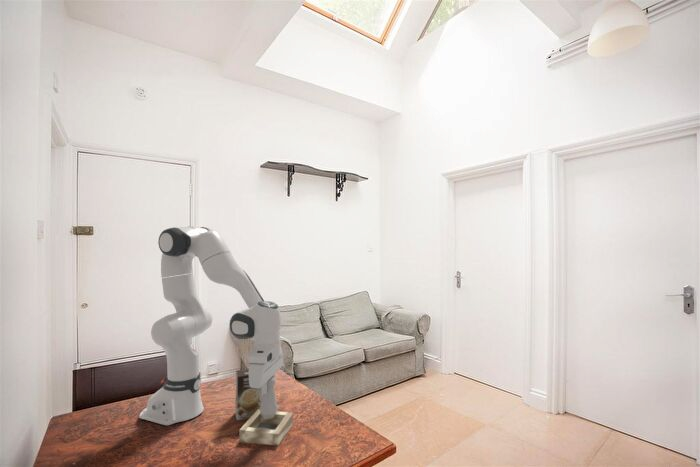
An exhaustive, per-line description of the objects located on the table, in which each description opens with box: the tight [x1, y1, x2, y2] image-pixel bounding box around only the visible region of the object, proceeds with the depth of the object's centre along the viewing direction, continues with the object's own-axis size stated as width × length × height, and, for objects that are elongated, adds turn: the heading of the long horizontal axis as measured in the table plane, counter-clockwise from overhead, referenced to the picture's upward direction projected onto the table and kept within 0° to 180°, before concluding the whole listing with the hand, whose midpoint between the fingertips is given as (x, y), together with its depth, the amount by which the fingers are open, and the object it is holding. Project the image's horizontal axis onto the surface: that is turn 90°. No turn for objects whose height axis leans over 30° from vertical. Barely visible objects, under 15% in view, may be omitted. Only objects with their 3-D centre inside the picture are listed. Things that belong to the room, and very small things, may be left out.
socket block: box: [238, 409, 294, 446], centre depth 118 cm, size 14×14×4 cm
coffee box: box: [235, 368, 263, 421], centre depth 130 cm, size 9×6×16 cm
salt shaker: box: [260, 377, 278, 419], centre depth 117 cm, size 6×6×13 cm
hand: (267, 390), depth 118 cm, fingers closed on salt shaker, 3 cm apart
